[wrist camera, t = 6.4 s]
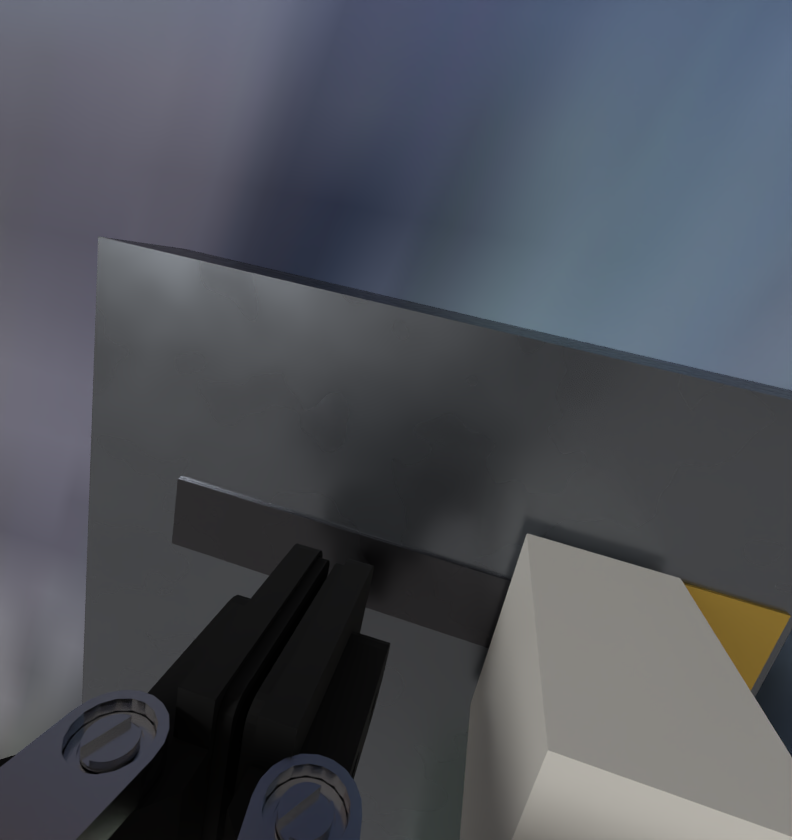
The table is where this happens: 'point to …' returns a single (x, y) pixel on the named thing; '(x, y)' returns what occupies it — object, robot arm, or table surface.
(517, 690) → the slider ivory
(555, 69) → the table surface
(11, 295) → the table surface
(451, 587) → the grey slotted slider board
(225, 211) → the table surface
